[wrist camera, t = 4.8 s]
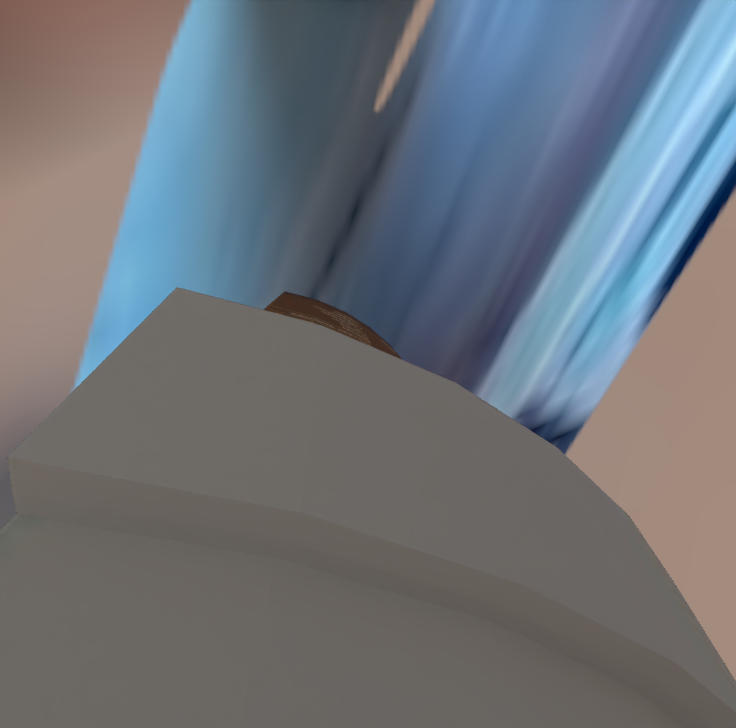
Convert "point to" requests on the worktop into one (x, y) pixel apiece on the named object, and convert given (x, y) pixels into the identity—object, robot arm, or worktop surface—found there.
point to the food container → (323, 549)
